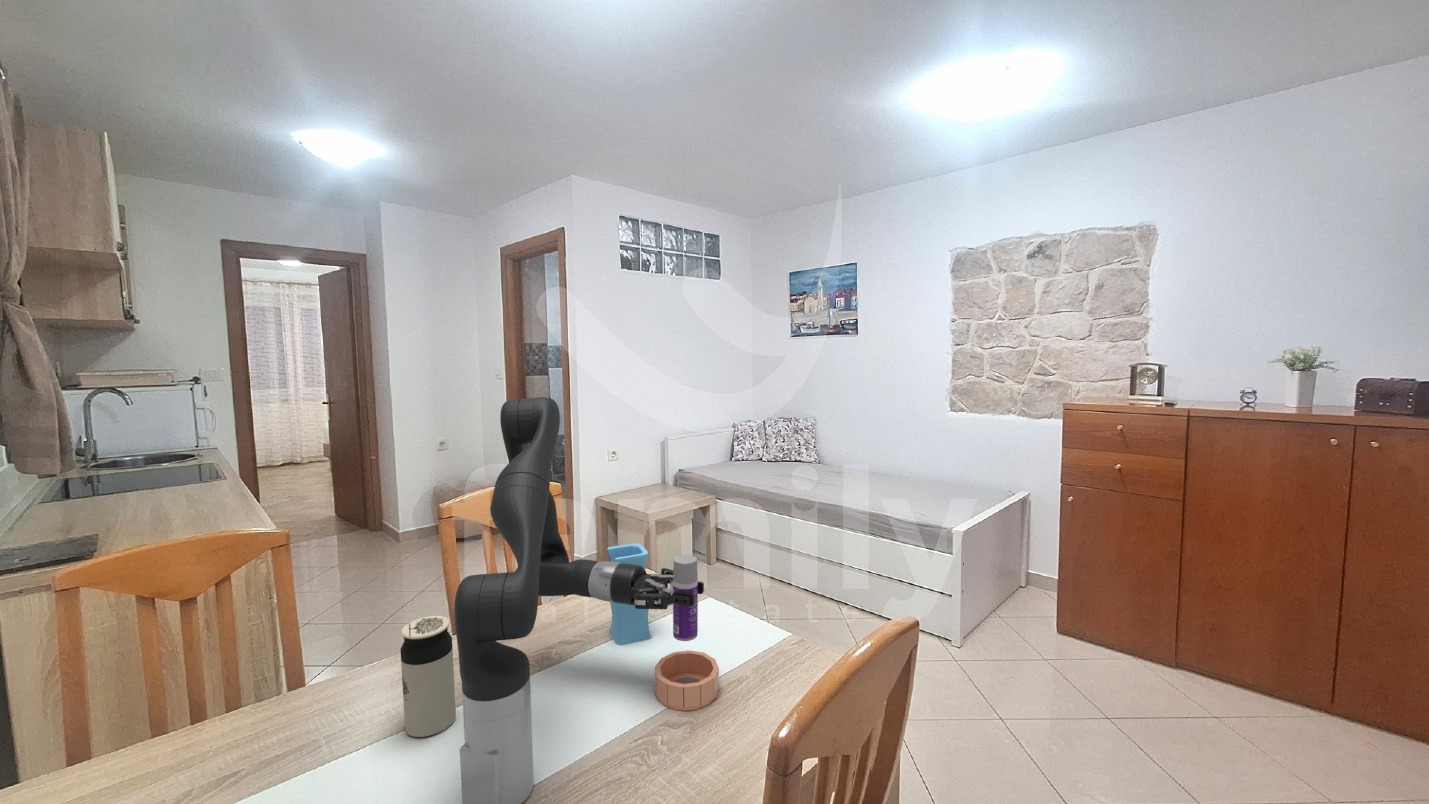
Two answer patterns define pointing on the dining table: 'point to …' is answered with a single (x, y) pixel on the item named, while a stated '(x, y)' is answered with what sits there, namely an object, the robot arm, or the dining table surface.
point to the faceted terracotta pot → (686, 680)
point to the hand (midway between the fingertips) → (698, 594)
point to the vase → (626, 618)
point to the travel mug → (427, 676)
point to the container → (687, 582)
